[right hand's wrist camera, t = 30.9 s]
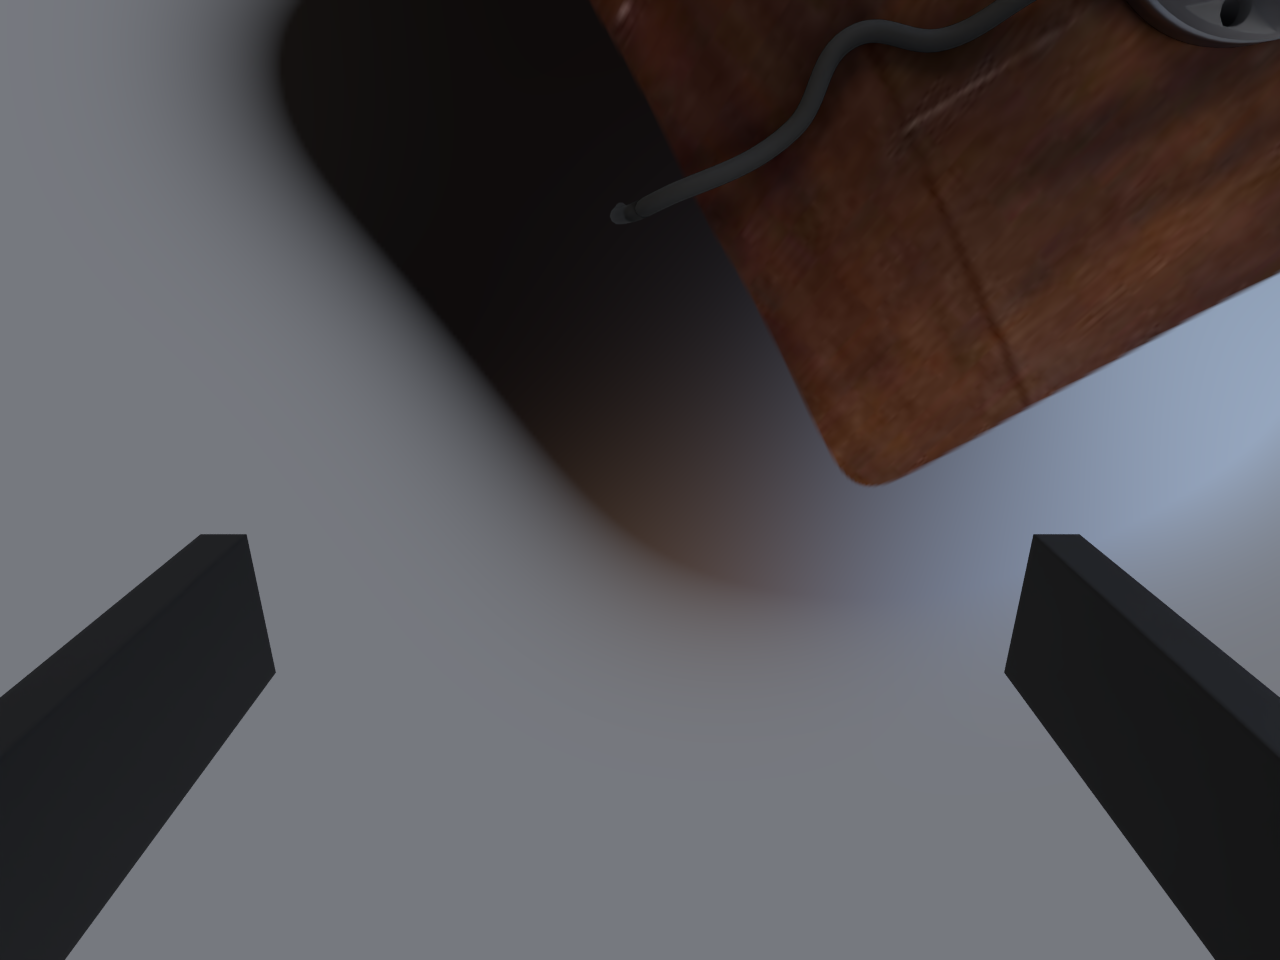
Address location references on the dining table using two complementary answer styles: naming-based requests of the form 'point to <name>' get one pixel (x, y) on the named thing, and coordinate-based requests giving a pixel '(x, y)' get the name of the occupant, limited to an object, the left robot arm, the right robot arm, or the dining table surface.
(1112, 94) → the dining table surface
